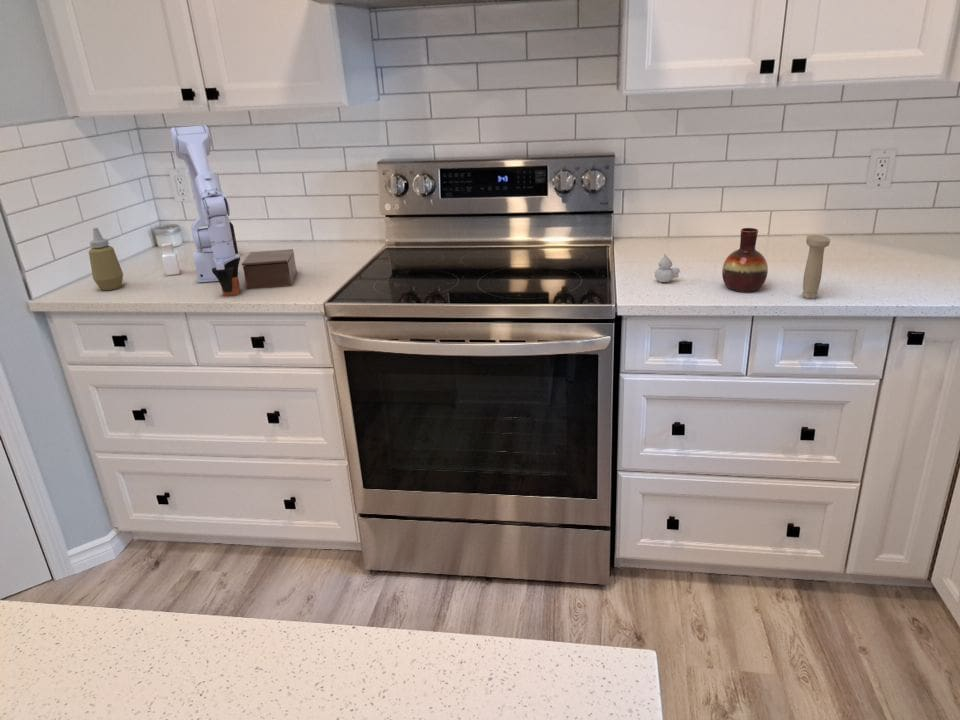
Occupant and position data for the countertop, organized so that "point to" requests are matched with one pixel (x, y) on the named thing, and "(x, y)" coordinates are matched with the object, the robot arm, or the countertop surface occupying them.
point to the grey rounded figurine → (666, 270)
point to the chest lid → (268, 257)
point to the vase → (745, 265)
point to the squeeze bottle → (104, 263)
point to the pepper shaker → (170, 259)
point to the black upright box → (233, 237)
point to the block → (233, 287)
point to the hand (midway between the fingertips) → (230, 287)
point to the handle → (814, 264)
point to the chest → (270, 274)
